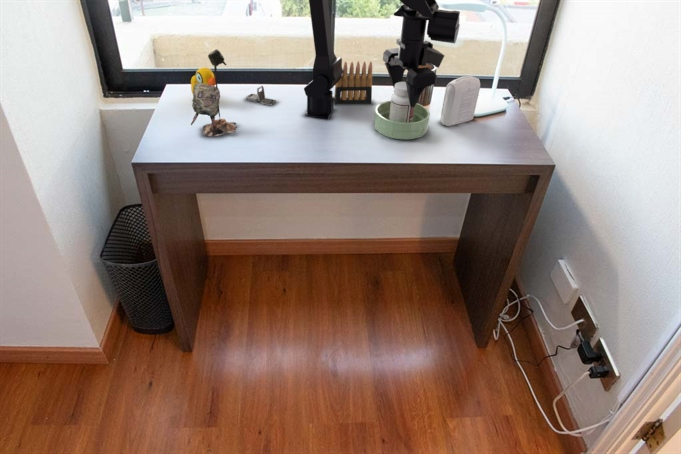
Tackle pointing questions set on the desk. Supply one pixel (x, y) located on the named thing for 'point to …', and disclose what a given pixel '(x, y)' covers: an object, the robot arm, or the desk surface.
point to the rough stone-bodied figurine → (211, 102)
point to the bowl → (399, 128)
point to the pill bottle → (401, 105)
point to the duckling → (203, 77)
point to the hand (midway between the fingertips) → (404, 99)
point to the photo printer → (460, 100)
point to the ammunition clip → (354, 86)
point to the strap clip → (260, 97)
